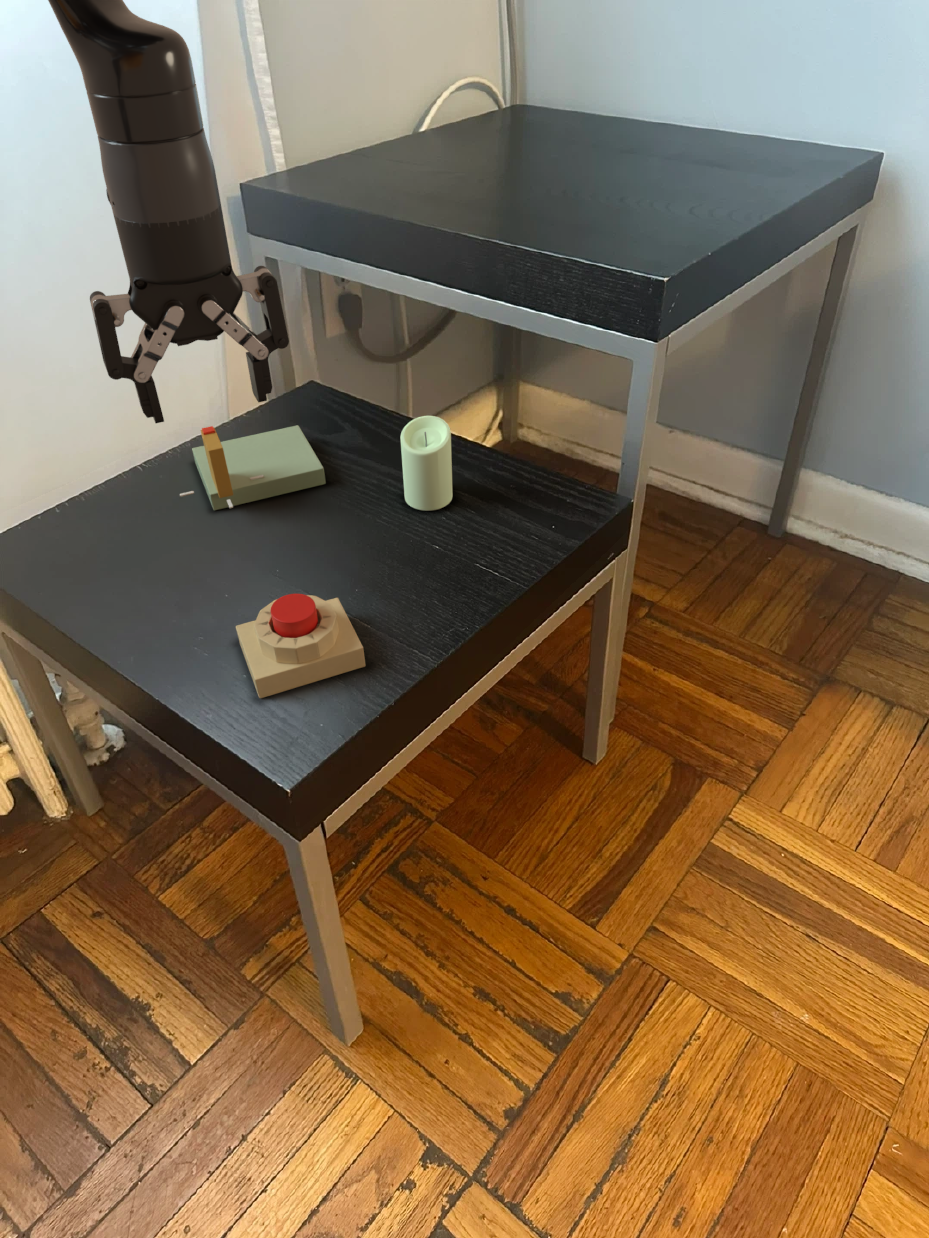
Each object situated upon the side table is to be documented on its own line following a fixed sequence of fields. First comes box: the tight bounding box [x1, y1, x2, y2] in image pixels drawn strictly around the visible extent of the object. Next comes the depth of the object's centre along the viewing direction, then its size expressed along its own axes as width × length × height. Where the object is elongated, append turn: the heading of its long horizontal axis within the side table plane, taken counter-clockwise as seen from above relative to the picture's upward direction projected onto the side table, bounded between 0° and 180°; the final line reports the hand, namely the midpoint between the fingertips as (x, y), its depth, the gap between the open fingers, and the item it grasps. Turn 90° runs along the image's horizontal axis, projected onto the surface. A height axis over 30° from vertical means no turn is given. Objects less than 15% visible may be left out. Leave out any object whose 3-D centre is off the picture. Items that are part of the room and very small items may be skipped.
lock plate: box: [179, 425, 327, 511], centre depth 93 cm, size 15×13×2 cm
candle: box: [400, 415, 453, 512], centre depth 89 cm, size 5×5×8 cm
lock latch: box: [200, 425, 233, 498], centre depth 88 cm, size 4×1×6 cm, turn 23°
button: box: [270, 593, 318, 638], centre depth 71 cm, size 4×4×2 cm
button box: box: [235, 594, 366, 699], centre depth 73 cm, size 9×7×4 cm
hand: (210, 408), depth 73 cm, fingers open, 8 cm apart
